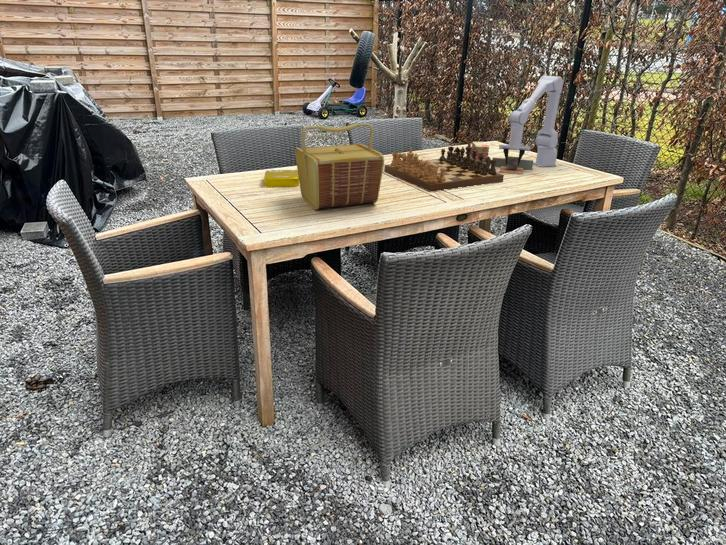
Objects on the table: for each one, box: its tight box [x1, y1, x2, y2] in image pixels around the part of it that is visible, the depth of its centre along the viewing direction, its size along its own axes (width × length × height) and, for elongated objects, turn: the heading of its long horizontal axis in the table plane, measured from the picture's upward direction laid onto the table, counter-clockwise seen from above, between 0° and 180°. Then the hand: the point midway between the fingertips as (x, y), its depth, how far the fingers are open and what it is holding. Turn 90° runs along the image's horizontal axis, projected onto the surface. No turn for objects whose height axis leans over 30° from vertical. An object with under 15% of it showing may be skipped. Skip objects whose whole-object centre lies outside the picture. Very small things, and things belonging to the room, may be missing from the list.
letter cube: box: [506, 155, 519, 169], centre depth 254 cm, size 5×5×5 cm
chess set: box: [384, 141, 504, 192], centre depth 241 cm, size 40×40×15 cm
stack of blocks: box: [470, 141, 490, 165], centre depth 261 cm, size 21×6×12 cm, turn 179°
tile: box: [498, 166, 524, 176], centre depth 255 cm, size 11×11×1 cm
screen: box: [491, 156, 534, 171], centre depth 260 cm, size 20×2×4 cm, turn 73°
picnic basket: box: [294, 122, 385, 211], centre depth 198 cm, size 29×26×30 cm
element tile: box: [263, 169, 300, 188], centre depth 229 cm, size 15×15×5 cm
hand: (512, 164), depth 254 cm, fingers closed on letter cube, 5 cm apart
